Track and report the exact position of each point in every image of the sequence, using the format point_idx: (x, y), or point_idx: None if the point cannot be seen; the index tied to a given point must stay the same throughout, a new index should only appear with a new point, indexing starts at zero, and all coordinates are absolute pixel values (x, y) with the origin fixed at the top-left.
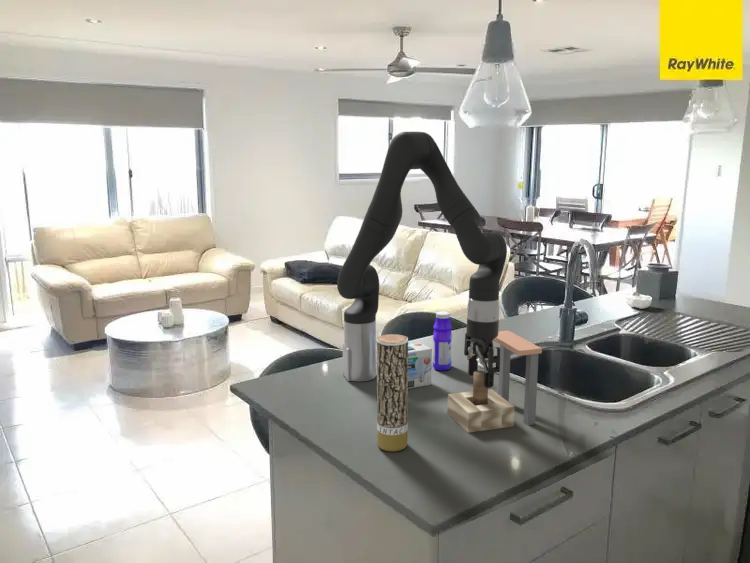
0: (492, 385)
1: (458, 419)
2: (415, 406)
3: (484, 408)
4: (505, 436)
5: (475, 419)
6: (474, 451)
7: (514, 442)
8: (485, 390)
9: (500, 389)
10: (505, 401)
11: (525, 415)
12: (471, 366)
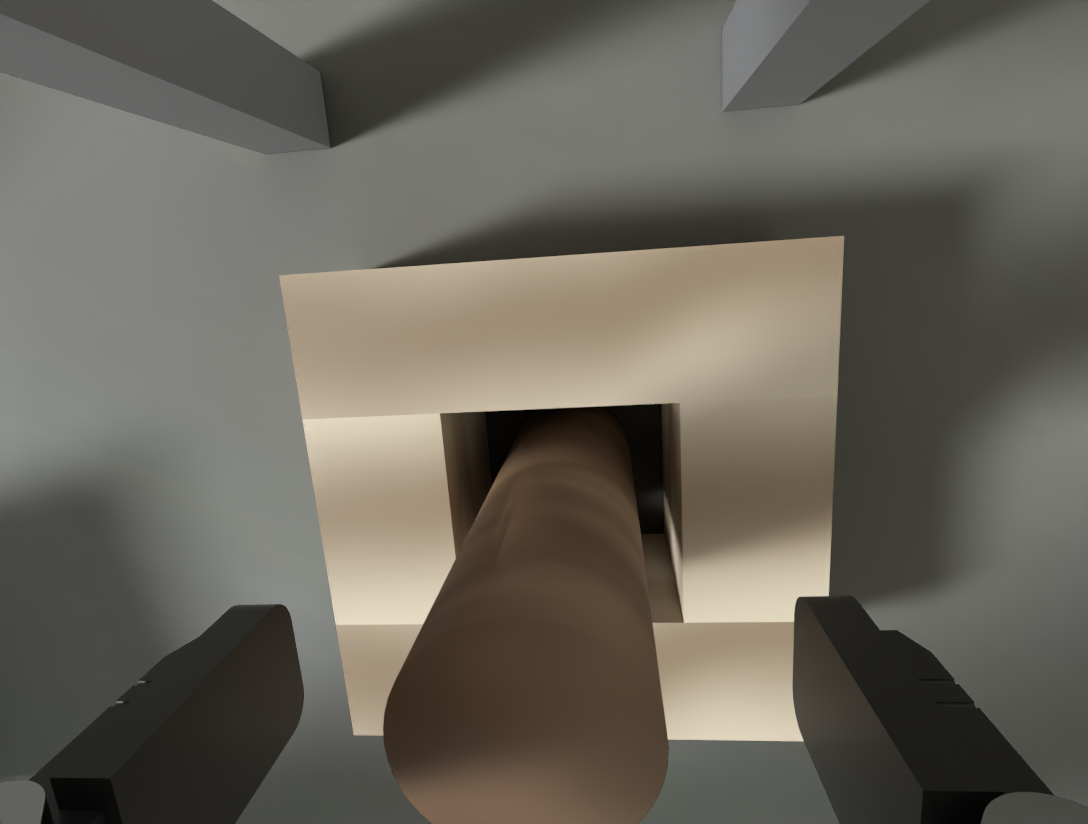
0: (899, 642)
1: None
2: (267, 774)
3: (777, 568)
4: (927, 393)
5: None
6: (1056, 696)
7: (1054, 372)
8: (642, 563)
9: (218, 122)
10: (669, 273)
11: (773, 89)
12: (215, 807)
